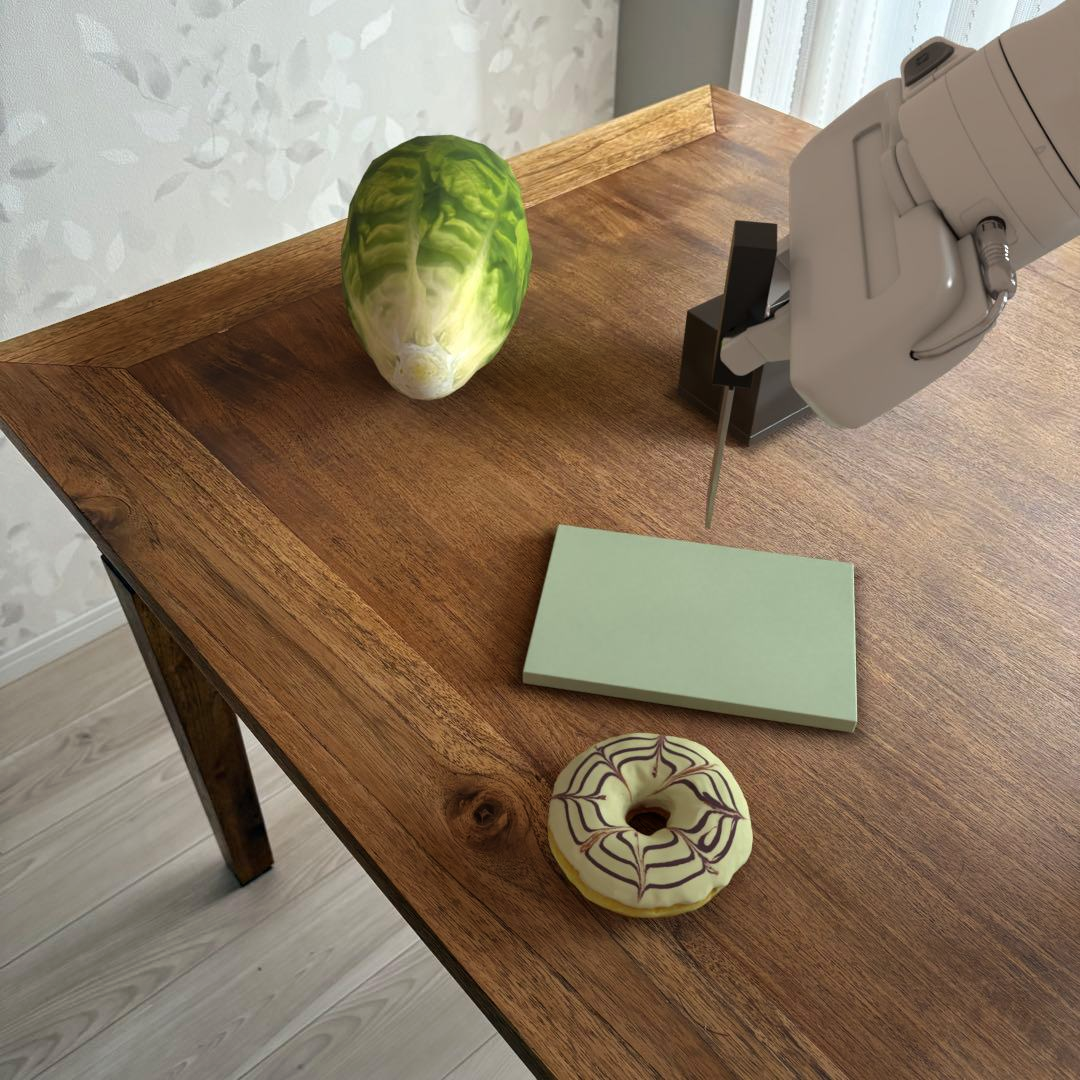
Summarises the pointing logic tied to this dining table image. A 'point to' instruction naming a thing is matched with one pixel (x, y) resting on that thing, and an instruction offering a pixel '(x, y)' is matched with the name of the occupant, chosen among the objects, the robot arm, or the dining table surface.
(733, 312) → the knife
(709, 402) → the knife block
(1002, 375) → the dining table surface
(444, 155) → the lettuce
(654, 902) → the decorated donut
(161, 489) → the dining table surface
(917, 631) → the dining table surface
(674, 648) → the cutting board
